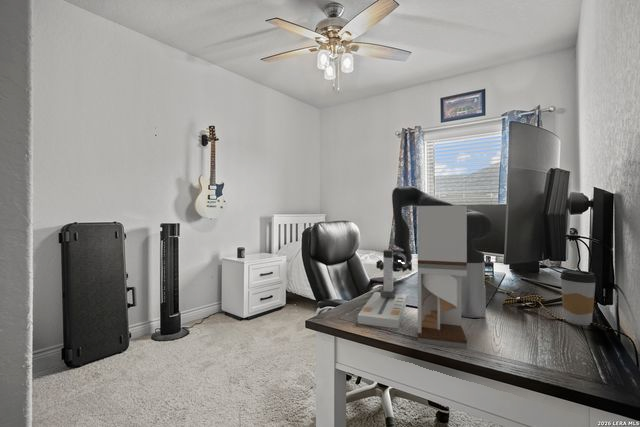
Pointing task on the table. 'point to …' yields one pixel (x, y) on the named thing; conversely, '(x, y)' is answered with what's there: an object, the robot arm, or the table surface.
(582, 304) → the coffee cup
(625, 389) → the table surface
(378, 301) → the console
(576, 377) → the table surface
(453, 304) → the display case
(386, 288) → the fader
